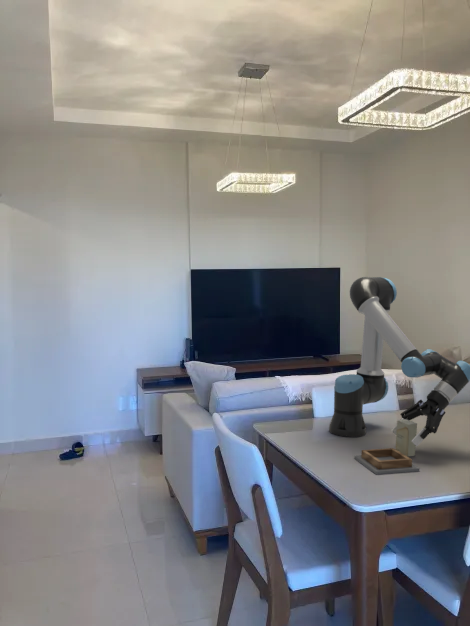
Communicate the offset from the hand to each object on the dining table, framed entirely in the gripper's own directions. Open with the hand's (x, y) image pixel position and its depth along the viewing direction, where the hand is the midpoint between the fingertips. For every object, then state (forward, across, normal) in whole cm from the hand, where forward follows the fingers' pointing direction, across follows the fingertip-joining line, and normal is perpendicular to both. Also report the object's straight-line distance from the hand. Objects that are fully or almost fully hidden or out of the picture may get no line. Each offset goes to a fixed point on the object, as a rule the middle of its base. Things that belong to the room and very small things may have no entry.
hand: (403, 438), depth 199 cm
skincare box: (+4, 0, -5) cm, 6 cm away
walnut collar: (+13, -9, +4) cm, 16 cm away
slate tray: (+13, -9, +4) cm, 16 cm away
